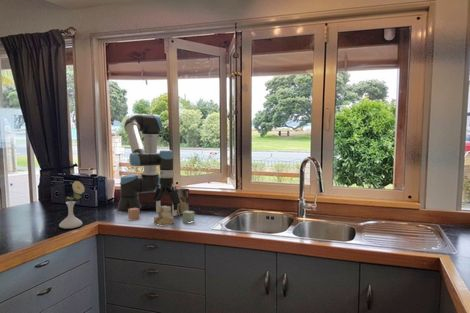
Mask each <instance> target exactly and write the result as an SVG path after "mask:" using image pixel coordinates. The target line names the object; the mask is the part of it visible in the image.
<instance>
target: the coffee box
mask: <svg viewBox="0 0 470 313" xmlns="http://www.w3.org/2000/svg"><path fill="white" fill-rule="evenodd" d="M176 191H177V194H178V197H179V200H180V203H179V204H177V215H176V216H178V215H179V216H181V215H180V214H183V212H185V211H190V206H189V205H190V190H189V188H186V187H185V188H184V187H182V188H181V187H180V188H176ZM177 202H178V201H177ZM172 204H173V202H172V201H171V205H172Z"/></svg>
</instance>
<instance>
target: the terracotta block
mask: <svg viewBox="0 0 470 313" xmlns="http://www.w3.org/2000/svg"><path fill="white" fill-rule="evenodd" d="M140 211H141V209H138V208H131V209H128V211H127V219H128V220H130V219H131V220H130V221H134V219H136V220H140V219H141V218H140V217H141V212H140ZM139 218H140V219H139Z"/></svg>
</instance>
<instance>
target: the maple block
mask: <svg viewBox="0 0 470 313" xmlns="http://www.w3.org/2000/svg"><path fill="white" fill-rule="evenodd" d="M157 213H158V217H159V218H163V219H166V218H170V217H172V206H169V205H161V207H158V212H157Z"/></svg>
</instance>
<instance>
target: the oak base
mask: <svg viewBox="0 0 470 313" xmlns="http://www.w3.org/2000/svg"><path fill="white" fill-rule="evenodd" d="M174 220H175V217H174V216H171V217H170V218H166V219H163V218H159V217H158V216H154V217H153V224H154V223H156V224H155V225H157V224H159V225H166V224H171V223H174ZM159 225H158V226H159ZM171 225H172V224H171ZM166 226H167V225H166Z"/></svg>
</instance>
